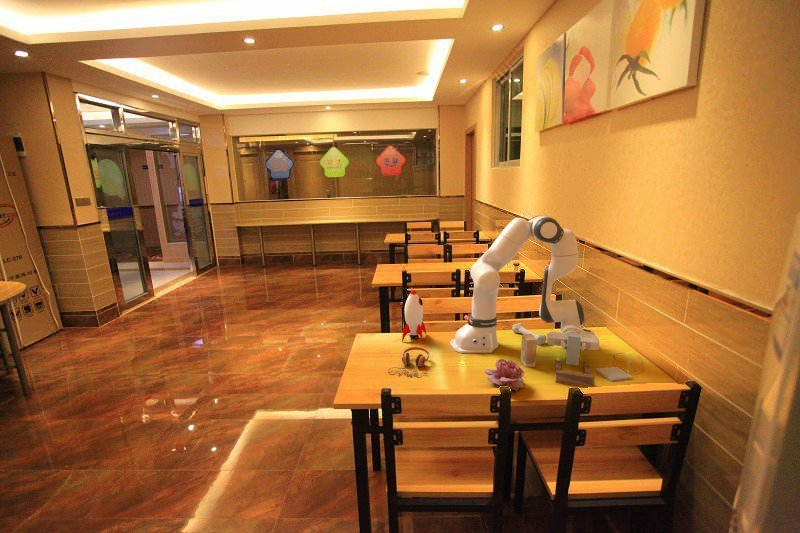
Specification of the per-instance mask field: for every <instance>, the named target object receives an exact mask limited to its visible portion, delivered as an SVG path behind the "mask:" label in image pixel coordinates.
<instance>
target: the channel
mask: <svg viewBox="0 0 800 533" xmlns="http://www.w3.org/2000/svg"><path fill="white" fill-rule="evenodd" d="M554 363H555V365H554V366H555V383H557V382H560V383H559V384H564V383H567V384H566V385H573V386H578V385H581V386H580V387H585V386H588V387H587V388H593V387H594V382H595V376H594V374H592V373H591V372H592V371H591V368H590V367H591V366H590V363H583V368H584V369H583V370H584V373H578V372H575V371H564V370H562V366H561V365H562V364H561V360H559V359H558V360H557V359H555V362H554ZM592 386H593V387H592Z"/></svg>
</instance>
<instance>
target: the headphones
mask: <svg viewBox="0 0 800 533" xmlns="http://www.w3.org/2000/svg"><path fill="white" fill-rule="evenodd" d="M415 350H416V351H417V350H418V351H422V352H424V353H426V354H427V356H424V355H423V354H421V353H419V354H418V355H417V357H416V358H415V366H413V367H408V368H407V366H411V356H410V351H415ZM429 358H430V351H429V350H428V348H425V347H423V346H418V345H416V346H409V347H406V348H405V349H404V350H403V351H402V356H401V362H402V364H403V365H404V366H405V367H399V366H398V367H390V368H388V371H387V372H388V374H389V373H390V370H391V369H399V370H402V371H401V373H400V371H394V373H392V375H395V374H396V373H399V374H398V375H402V374H403V375H404V376H407V378H412V377H413V376H415V377H417V378H421V377H422V375H423V374H425V375H429V373H428V372H422V373H421V374H420V376H418V374H419V373H418V372H417V370H413V372H412V373H409V371H406V370H409V369H414V368H416V367H418V368H420V367H423V366H425V365H426V363H427V361H428V359H429ZM403 369H404V370H403ZM403 372H404V373H403ZM409 374H410V375H409Z"/></svg>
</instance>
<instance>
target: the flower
mask: <svg viewBox="0 0 800 533" xmlns="http://www.w3.org/2000/svg"><path fill="white" fill-rule="evenodd" d="M494 366H495V368H496V369H491V368H487V369H484V374H485V375H488V376H487V378H486V379H487V380H488V381H489V382H491V383H492V384H494V385H499V386H502V387H505V386H508V387H510V388H509V389H511V390H514V392H515V391H516V392H518V391H519V388H520V389H524V381H525V380H524V379H523V376H524V375H525V374H526V373H525V371H524V370H523V369H522V367H520V365H519V364H518V363H517V362H516V361H513V360H512V359H509V360H506V359H504V358H502V359H501V358H500V359H497V360H496V361H495V364H494ZM508 387H507V388H508Z"/></svg>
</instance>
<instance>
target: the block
mask: <svg viewBox="0 0 800 533" xmlns="http://www.w3.org/2000/svg"><path fill="white" fill-rule="evenodd" d="M580 338H581V337H580V333H571V332H568V338H567V349H566V354H565V363H566V365H572V366H579V362H580V351H579V350H580Z"/></svg>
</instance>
